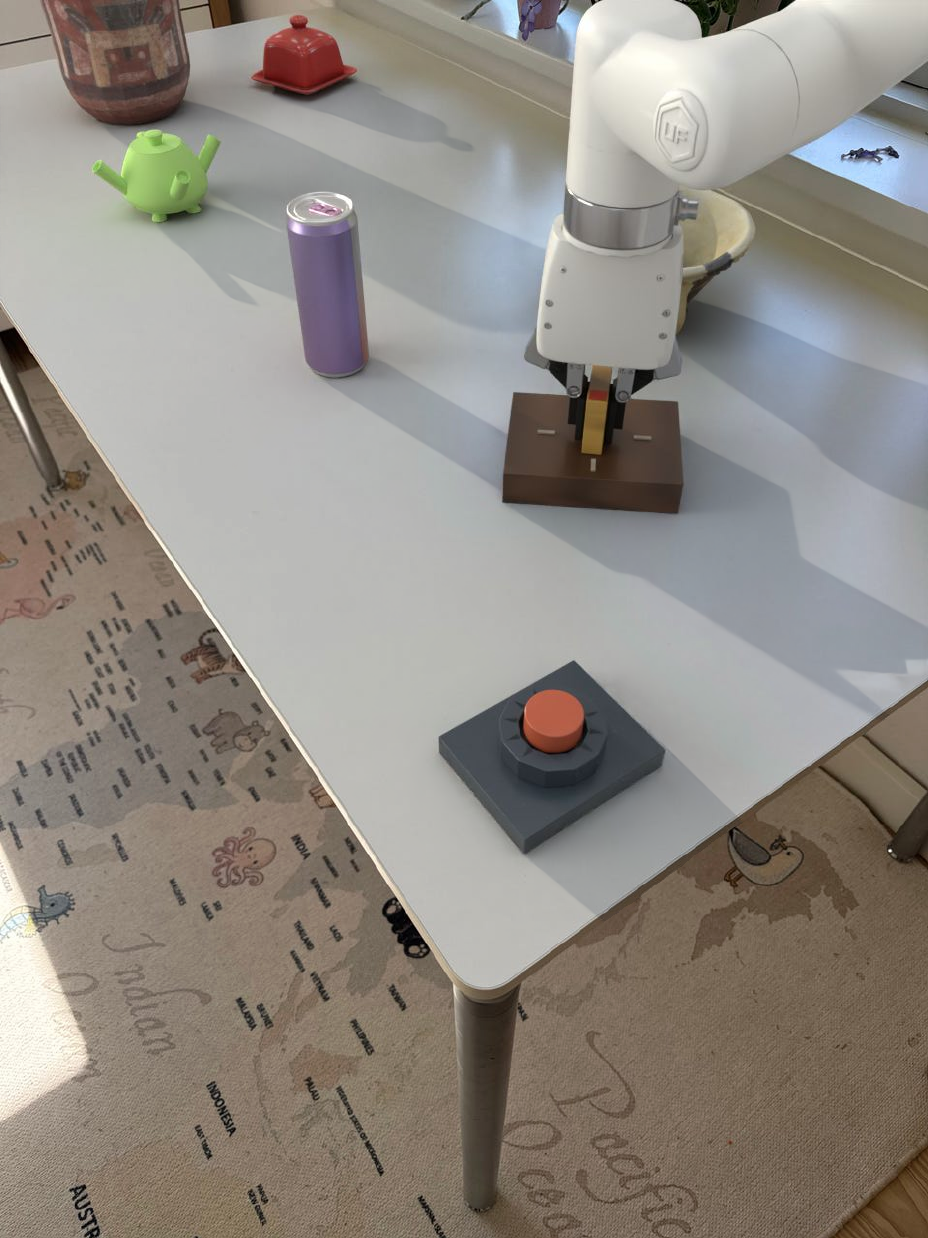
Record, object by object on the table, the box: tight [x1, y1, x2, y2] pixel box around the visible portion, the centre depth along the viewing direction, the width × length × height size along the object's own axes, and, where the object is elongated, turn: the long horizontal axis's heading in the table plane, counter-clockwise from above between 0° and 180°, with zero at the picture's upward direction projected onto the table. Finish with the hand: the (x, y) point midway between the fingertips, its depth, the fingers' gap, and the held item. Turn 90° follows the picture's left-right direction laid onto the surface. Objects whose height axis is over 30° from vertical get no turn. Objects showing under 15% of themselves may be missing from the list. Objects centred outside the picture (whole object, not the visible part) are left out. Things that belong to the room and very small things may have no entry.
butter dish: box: [250, 14, 358, 96], centre depth 139 cm, size 12×12×8 cm
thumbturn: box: [581, 365, 613, 455], centre depth 80 cm, size 5×2×5 cm, turn 170°
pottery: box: [39, 0, 191, 126], centre depth 130 cm, size 18×18×18 cm
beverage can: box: [285, 191, 370, 379], centre depth 89 cm, size 6×6×15 cm
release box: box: [437, 659, 666, 855], centre depth 63 cm, size 11×9×4 cm
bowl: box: [675, 184, 756, 336], centre depth 97 cm, size 18×18×10 cm
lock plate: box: [501, 391, 684, 514], centre depth 83 cm, size 14×11×3 cm
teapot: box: [91, 129, 222, 223], centre depth 113 cm, size 11×12×8 cm
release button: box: [523, 690, 584, 753], centre depth 61 cm, size 4×4×2 cm
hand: (594, 430), depth 82 cm, fingers closed on thumbturn
